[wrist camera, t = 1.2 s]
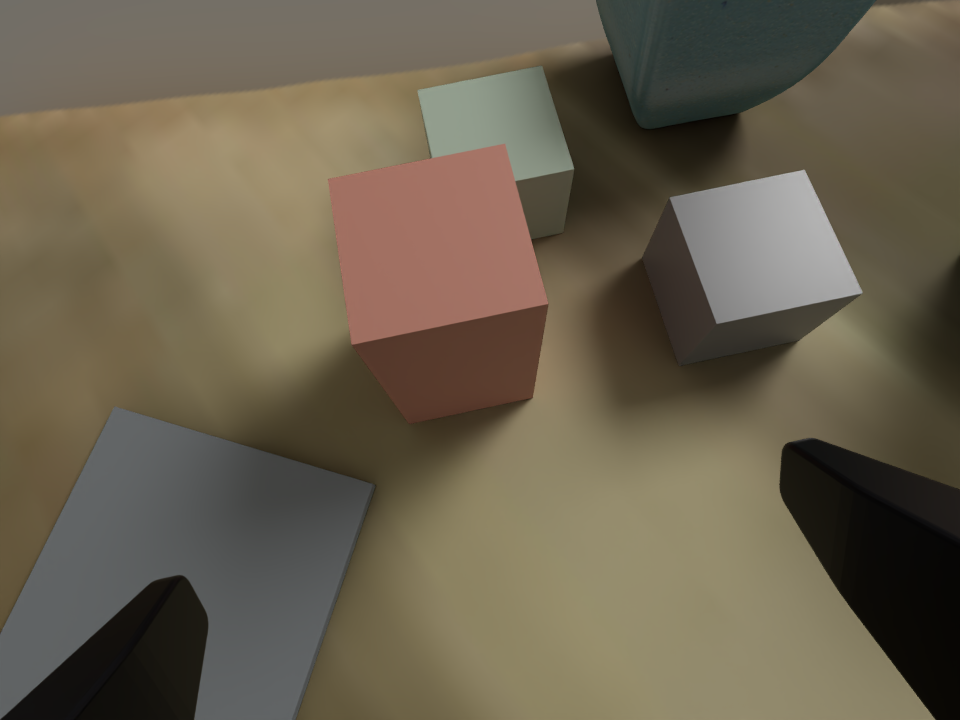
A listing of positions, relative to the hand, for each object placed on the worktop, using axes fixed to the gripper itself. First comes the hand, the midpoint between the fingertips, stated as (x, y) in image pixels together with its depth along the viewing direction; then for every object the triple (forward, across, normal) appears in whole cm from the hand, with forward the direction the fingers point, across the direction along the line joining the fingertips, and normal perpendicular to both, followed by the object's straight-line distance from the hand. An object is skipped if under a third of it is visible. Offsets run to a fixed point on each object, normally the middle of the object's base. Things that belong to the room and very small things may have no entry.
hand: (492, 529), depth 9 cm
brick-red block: (+15, 0, +4) cm, 15 cm away
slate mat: (+10, +12, +9) cm, 18 cm away
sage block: (+20, -3, -1) cm, 20 cm away
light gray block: (+15, -11, +4) cm, 19 cm away
